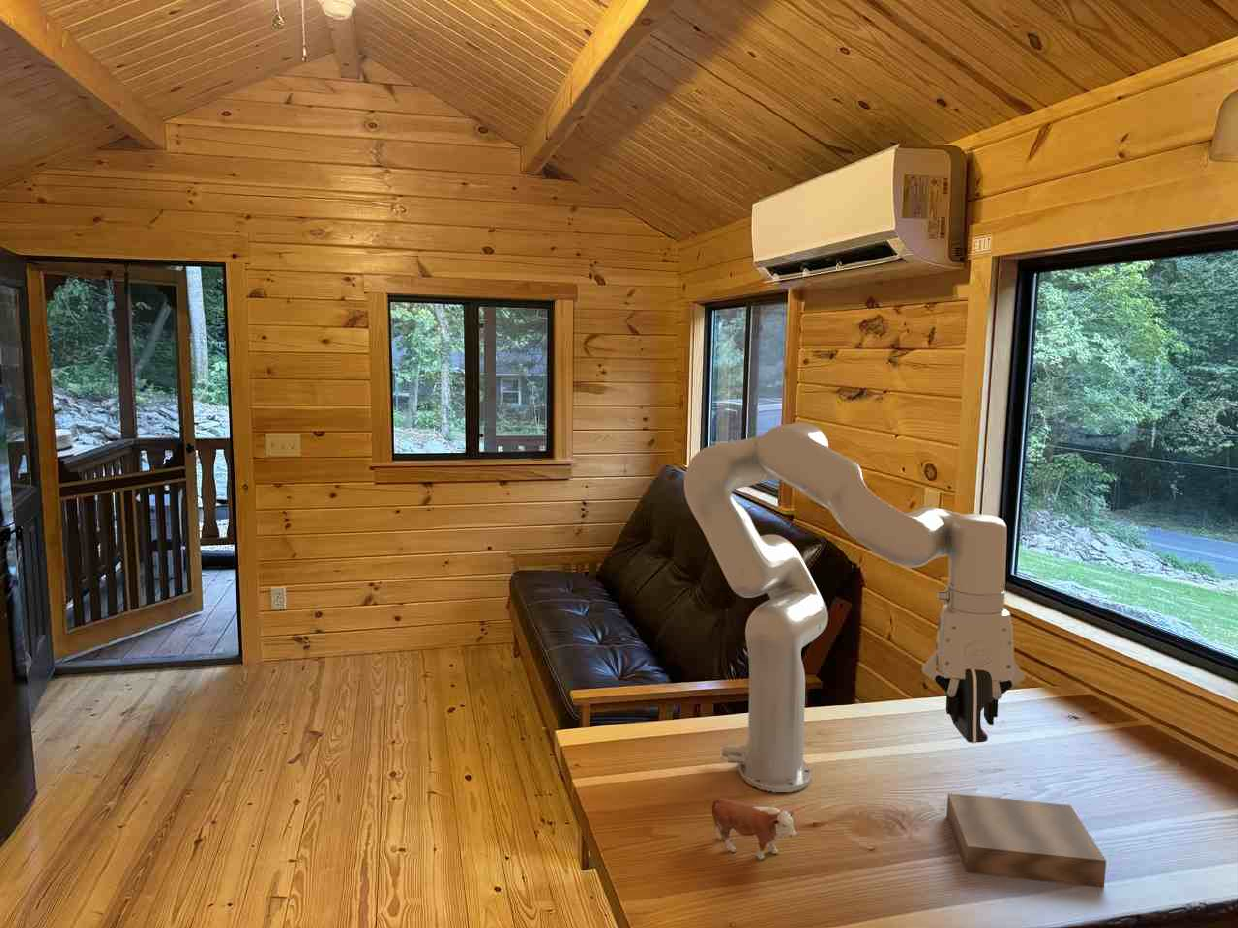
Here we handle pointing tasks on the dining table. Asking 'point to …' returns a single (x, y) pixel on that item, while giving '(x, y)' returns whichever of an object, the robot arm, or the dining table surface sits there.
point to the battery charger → (973, 703)
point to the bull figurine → (752, 823)
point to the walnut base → (1024, 840)
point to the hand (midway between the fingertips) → (971, 718)
